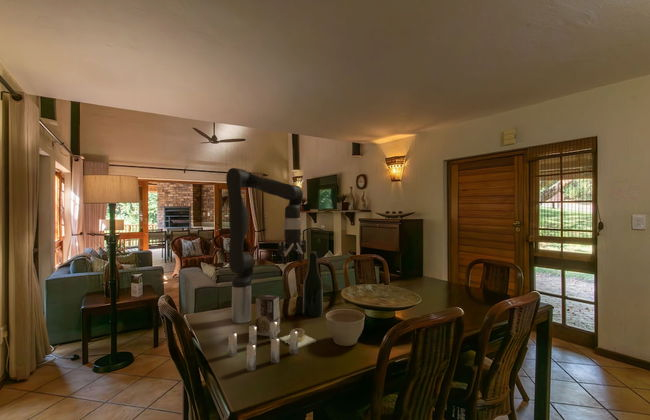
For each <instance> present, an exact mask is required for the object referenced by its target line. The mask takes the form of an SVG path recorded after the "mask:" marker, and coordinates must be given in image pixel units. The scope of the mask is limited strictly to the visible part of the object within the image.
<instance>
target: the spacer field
mask: <svg viewBox="0 0 650 420" xmlns="http://www.w3.org/2000/svg"><path fill="white" fill-rule="evenodd" d="M289 335H290V345H289V354H290V355H292V356H294V355H297V354H298V353H299V352H298V349H299V348H298V331H296V330H293V329H292V330H290V331H289ZM257 336H258V335H257V326H256V324H255V325H250V326H248V344H247V345H246V371H247V372H253V371H255V370H256V368H257V366H256V363H257V359H256V358H257V357H256V356H257V352H256V351H257V347H258V345H257V344H258V337H257ZM270 342H271V343H270ZM269 343H270V363H271V364H278V363H279V362H280V337H278V334H277V321H271V322H270V336H269ZM237 350H238V332H236V331H230V332H229V333H228V357H236V356H237V355H238V351H237Z"/></svg>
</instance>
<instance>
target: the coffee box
mask: <svg viewBox="0 0 650 420" xmlns="http://www.w3.org/2000/svg"><path fill="white" fill-rule="evenodd" d="M271 321H277V335H278V334H279V333H281V295H272V294H271V295H269V294H261V295H260V296H258V297H256V298H255V326H257V336H266V337H270V322H271Z"/></svg>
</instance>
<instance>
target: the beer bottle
mask: <svg viewBox="0 0 650 420" xmlns="http://www.w3.org/2000/svg"><path fill="white" fill-rule="evenodd" d="M323 294H324V293H323V282H322V278H321V276H320V273H319V269H318V253H317V252H316V251H309V255H308V269H307V273H306V275H305V278H304V281H303V290H302V295H303V296H302V314H303V316H305V317H307V318H318V317H321V316H322V315H323V313H324V304H323V303H324V298H323V296H324V295H323Z"/></svg>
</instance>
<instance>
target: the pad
mask: <svg viewBox="0 0 650 420" xmlns="http://www.w3.org/2000/svg"><path fill="white" fill-rule="evenodd" d="M279 341H281V342H283V341H284V342H283V343H285V344H287V343H288V345H289V346H290V334H288V335H285V336H281V337H279ZM316 342H317V339H315V338H312V337H310V336H308V335H306V334H305V339H304V340H303V341H299V342H298V349H300V348H303V347H305V346H308V345H311V344H313V343H316Z"/></svg>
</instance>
